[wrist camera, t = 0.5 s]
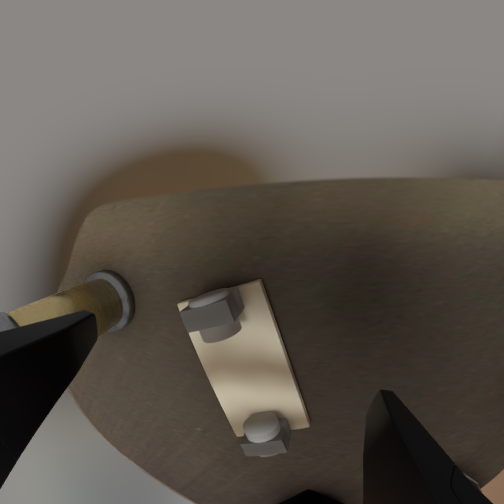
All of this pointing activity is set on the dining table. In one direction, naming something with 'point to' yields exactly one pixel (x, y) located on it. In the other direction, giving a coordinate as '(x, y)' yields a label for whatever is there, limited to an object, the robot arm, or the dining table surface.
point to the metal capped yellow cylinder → (81, 304)
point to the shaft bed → (247, 365)
